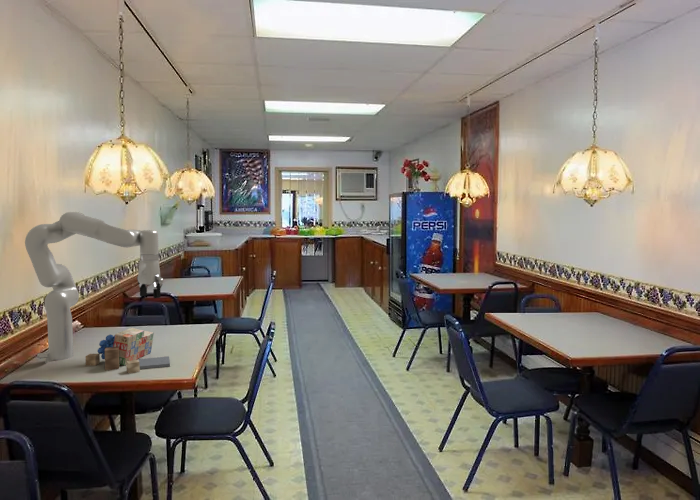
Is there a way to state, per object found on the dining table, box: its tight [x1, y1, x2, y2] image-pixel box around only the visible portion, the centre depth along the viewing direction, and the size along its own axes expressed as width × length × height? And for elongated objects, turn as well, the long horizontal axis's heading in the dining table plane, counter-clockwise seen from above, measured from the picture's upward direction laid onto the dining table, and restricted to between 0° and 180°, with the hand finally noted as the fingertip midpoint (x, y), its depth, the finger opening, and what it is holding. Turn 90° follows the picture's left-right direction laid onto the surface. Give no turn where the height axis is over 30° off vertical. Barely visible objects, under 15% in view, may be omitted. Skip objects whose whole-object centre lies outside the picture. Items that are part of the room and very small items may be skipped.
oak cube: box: [84, 353, 101, 367], centre depth 225 cm, size 4×4×4 cm
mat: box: [138, 355, 171, 370], centre depth 225 cm, size 12×12×1 cm
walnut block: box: [104, 347, 120, 371], centre depth 220 cm, size 5×5×8 cm
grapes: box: [97, 334, 115, 360], centre depth 230 cm, size 12×7×12 cm, turn 110°
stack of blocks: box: [113, 327, 154, 366], centre depth 233 cm, size 21×6×12 cm, turn 171°
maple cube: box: [125, 359, 141, 374], centre depth 215 cm, size 4×4×4 cm
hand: (150, 296), depth 239 cm, fingers open, 9 cm apart
